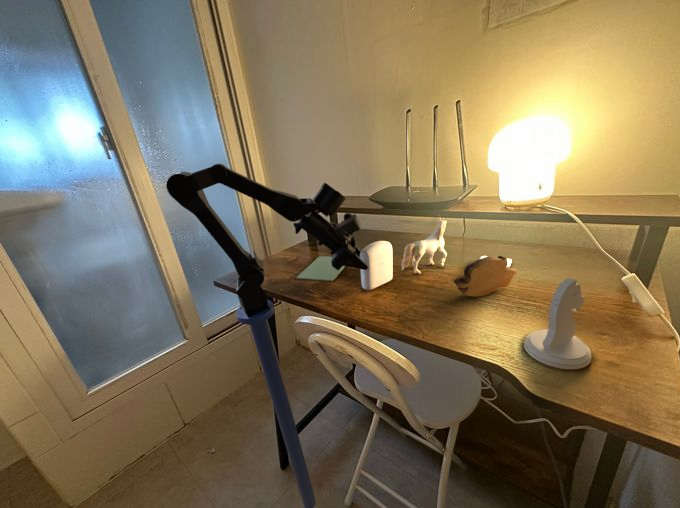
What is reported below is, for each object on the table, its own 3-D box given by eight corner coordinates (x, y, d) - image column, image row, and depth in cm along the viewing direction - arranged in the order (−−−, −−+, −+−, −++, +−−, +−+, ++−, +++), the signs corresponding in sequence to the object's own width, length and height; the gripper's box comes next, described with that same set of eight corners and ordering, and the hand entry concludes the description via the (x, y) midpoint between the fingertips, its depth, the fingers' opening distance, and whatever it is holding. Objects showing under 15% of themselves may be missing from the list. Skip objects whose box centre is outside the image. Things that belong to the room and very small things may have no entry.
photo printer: (369, 291, 83) (368, 249, 78) (359, 287, 86) (356, 245, 81) (394, 280, 88) (395, 239, 83) (384, 276, 91) (383, 236, 86)
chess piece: (603, 355, 53) (629, 278, 46) (568, 378, 49) (591, 299, 43) (545, 328, 61) (560, 260, 54) (512, 346, 58) (523, 276, 51)
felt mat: (332, 281, 93) (332, 280, 93) (296, 278, 99) (296, 277, 98) (352, 258, 107) (352, 257, 107) (319, 257, 113) (319, 256, 113)
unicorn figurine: (457, 259, 95) (460, 217, 89) (419, 282, 85) (419, 237, 79) (437, 254, 101) (438, 215, 95) (399, 275, 91) (398, 232, 85)
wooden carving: (500, 280, 80) (504, 245, 75) (515, 287, 76) (521, 250, 72) (449, 298, 75) (450, 262, 71) (462, 306, 72) (465, 268, 67)
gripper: (340, 215, 68) (391, 256, 71) (342, 198, 85) (383, 232, 88) (310, 251, 72) (360, 288, 76) (318, 228, 89) (358, 259, 92)
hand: (366, 264), depth 83 cm, fingers closed on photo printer, 4 cm apart
